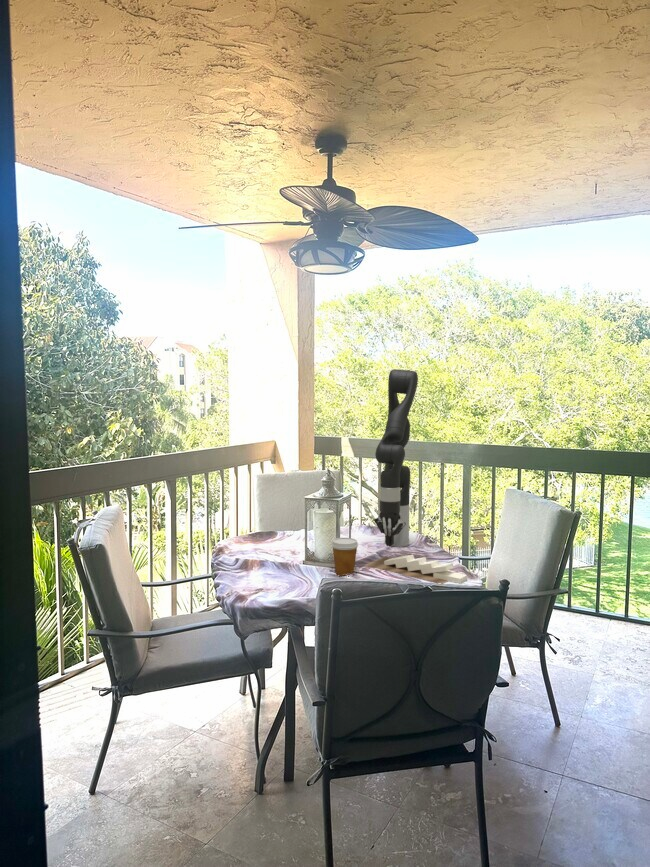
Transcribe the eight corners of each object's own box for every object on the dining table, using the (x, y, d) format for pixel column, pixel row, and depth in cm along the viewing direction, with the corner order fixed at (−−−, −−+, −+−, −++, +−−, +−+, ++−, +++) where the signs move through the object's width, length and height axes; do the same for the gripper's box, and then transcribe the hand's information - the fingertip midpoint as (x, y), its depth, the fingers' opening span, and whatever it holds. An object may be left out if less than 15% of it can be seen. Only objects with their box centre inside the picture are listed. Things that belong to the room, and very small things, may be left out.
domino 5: (433, 572, 195) (460, 578, 188) (440, 569, 199) (467, 575, 192) (433, 577, 195) (460, 583, 188) (440, 573, 199) (467, 579, 192)
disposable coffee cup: (362, 571, 204) (362, 538, 203) (352, 579, 195) (352, 545, 194) (337, 568, 208) (337, 536, 207) (326, 576, 199) (326, 542, 198)
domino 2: (395, 563, 205) (418, 560, 198) (402, 560, 209) (425, 557, 202) (396, 568, 205) (419, 564, 198) (404, 565, 208) (426, 561, 202)
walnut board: (363, 567, 208) (363, 565, 208) (385, 559, 219) (385, 556, 219) (441, 587, 188) (441, 584, 188) (461, 576, 198) (461, 573, 198)
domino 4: (420, 569, 198) (445, 566, 192) (428, 566, 202) (452, 562, 195) (422, 574, 198) (446, 570, 191) (429, 570, 202) (453, 567, 195)
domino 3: (407, 566, 202) (430, 563, 195) (414, 563, 205) (438, 560, 199) (408, 571, 201) (431, 568, 195) (415, 567, 205) (439, 564, 199)
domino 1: (383, 561, 208) (405, 557, 202) (391, 558, 212) (413, 554, 205) (384, 565, 208) (407, 562, 201) (392, 562, 212) (414, 558, 205)
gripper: (411, 499, 206) (410, 546, 208) (380, 495, 215) (380, 540, 216) (399, 502, 200) (399, 551, 202) (369, 498, 209) (368, 544, 210)
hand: (389, 545), depth 209 cm, fingers closed
